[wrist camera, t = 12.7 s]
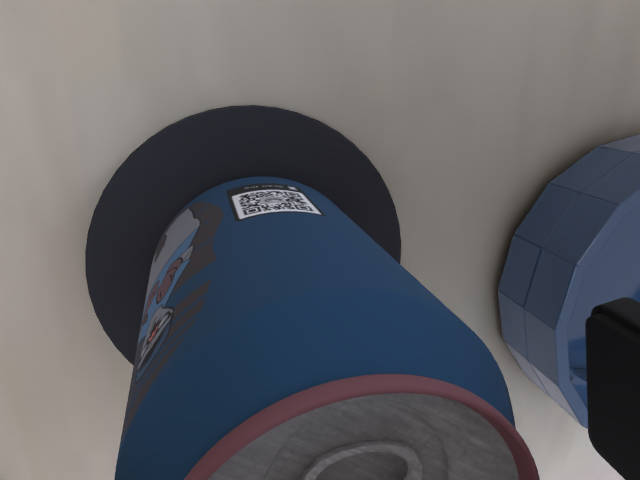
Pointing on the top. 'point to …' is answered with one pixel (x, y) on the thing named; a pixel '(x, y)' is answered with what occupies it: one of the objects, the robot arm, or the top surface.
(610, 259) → the bowl
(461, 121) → the top surface
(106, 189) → the coaster
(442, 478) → the soda can
